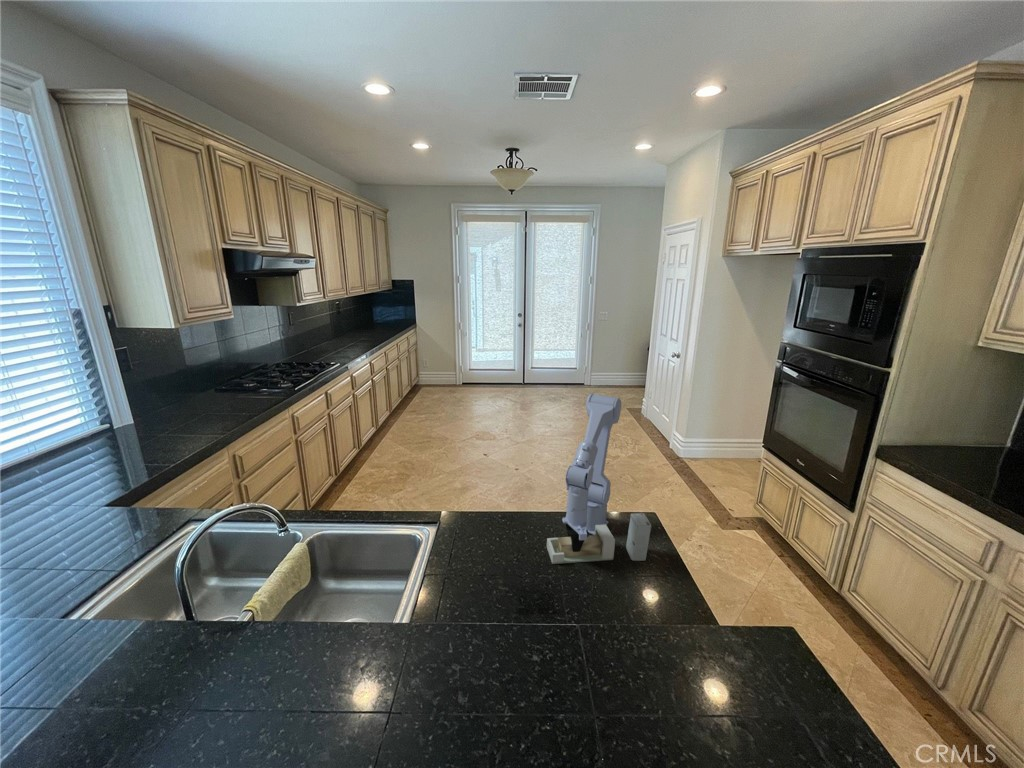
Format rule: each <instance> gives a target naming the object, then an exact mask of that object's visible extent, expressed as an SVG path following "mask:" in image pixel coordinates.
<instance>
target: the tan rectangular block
mask: <svg viewBox="0 0 1024 768" xmlns="http://www.w3.org/2000/svg"><path fill="white" fill-rule="evenodd" d="M601 544H602V542H601V540H600V539H599V537H598V535H593V534H591V535H589V536H588V537H587V540H585V541H584V542H583V545H582V548H581V550H580V552H573V550H572V542H571V537H568V536H561V537H559V536H558V551H559V553H561V552H564V557H567V556H582V555H598V554H601Z"/></svg>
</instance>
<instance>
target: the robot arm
mask: <svg viewBox="0 0 1024 768" xmlns="http://www.w3.org/2000/svg"><path fill="white" fill-rule="evenodd" d="M585 409H586V414H587V417H588V422H587V426H586V431H585V435H584V440H583V441H581V442H579V444H578V446H577V449H576V452H575V455H574V458H573V461H572V464H571V465H569V466H568V467H567V470H566V473H565V485H566V490H567V501H566V502H567V503H566V506H565V507H566V509H565V511H566V513H565V517H562V519H561V520H562V523H563V524H564V525H565V528H566V532H567V533H566V534H567V537H571V542H572V550H573V552H580V550H581V548H582V545H583V542H584V541H585V540H587V537H588V536H590V534H591V535H595V525H605V524H606V526H608V524H609V520H607V515H608V513H607V512H608V503H609V500H610V496H611V484H612V483H611V481H610V479H609V478H608V477H607V476H606V475H605V473H604V472H605V466H606V461H607V454H608V448H609V442H610V437H611V431H612V428H613V425H614V424H618V422H619V420H620V416H621V410H622V399H621V398H620V397H614V396H608V395H601V394H594V393H590V394H588V396H587V398H586V403H585Z"/></svg>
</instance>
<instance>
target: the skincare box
mask: <svg viewBox="0 0 1024 768" xmlns="http://www.w3.org/2000/svg"><path fill="white" fill-rule="evenodd" d="M629 518H630V519H629V525H628V530H627V532H628V533H627V538H626V539H627V540H626V544H625V548H626V551H627V553H628V556H629V559H630V560H632V561H636V562H640V561H641V562H642V561H646V559H647V553H648V548H649V542H650V536H651V535H650V534H651V531H652V524H651V523H650V521H649V519H648V517H647V515H646V514H645V513H643V512H642V513H641V512H640V513H637V512H636V513H630V517H629Z"/></svg>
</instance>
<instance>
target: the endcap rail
mask: <svg viewBox="0 0 1024 768" xmlns="http://www.w3.org/2000/svg"><path fill="white" fill-rule="evenodd" d="M595 535H598V537H599V539H600V540H601V542H602V544H601V554H598V555H582V556H567V557H564V552H561V553H559V551H558V540H559V537H549V538H548V537H547V538H546V548H547V549H546V550H547V551H548V552H547V553H548V556H549V558H550V560H551V561H550V562H551V564H552V565H557V564H572V563H585V562H599V561H601V562H602V561H613V560H614V557H615V545H616V538H615V537H614V536H613V534H612V531H610V529H609V527H608V525H606V524H605V525H595Z"/></svg>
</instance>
